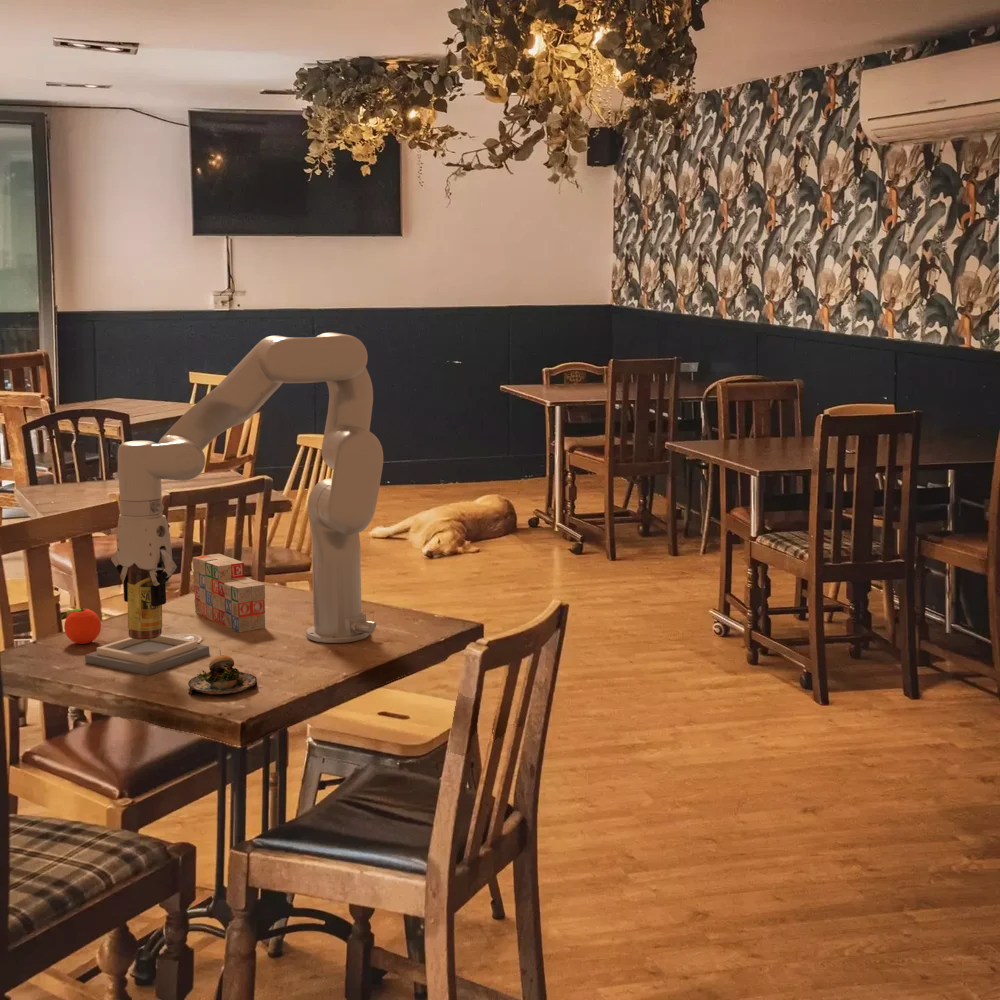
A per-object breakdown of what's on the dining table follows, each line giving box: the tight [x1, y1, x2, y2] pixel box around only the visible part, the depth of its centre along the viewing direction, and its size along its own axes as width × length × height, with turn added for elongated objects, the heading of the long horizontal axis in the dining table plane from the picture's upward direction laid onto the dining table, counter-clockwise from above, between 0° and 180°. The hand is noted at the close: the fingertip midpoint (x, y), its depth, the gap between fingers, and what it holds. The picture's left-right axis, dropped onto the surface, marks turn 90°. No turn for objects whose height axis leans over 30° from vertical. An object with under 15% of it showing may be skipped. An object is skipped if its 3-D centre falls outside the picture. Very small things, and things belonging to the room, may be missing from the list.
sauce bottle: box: [127, 563, 163, 640], centre depth 253 cm, size 7×6×20 cm
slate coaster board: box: [84, 634, 210, 676], centre depth 256 cm, size 16×16×3 cm
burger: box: [187, 651, 258, 696], centre depth 237 cm, size 12×12×8 cm
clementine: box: [60, 607, 102, 645], centre depth 266 cm, size 8×7×7 cm
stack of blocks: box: [192, 553, 266, 633], centre depth 283 cm, size 21×6×12 cm, turn 36°
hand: (145, 601), depth 254 cm, fingers closed on sauce bottle, 6 cm apart
